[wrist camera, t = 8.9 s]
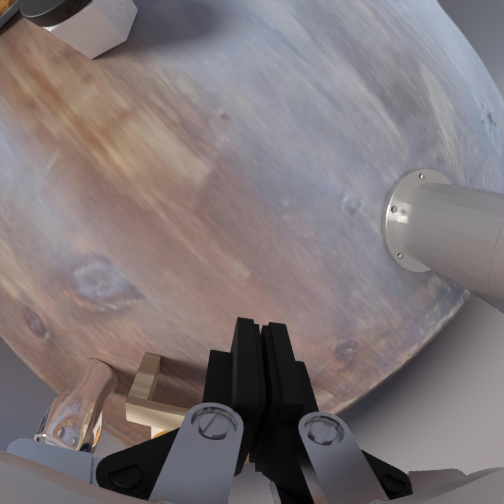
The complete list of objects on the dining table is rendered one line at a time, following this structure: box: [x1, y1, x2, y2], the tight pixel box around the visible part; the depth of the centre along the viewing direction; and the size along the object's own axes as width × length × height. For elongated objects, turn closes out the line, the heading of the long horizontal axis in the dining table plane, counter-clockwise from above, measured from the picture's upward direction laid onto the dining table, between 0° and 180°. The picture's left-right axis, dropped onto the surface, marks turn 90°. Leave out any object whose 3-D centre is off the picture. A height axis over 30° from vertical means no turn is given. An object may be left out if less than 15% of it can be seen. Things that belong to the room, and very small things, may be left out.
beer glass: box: [34, 359, 119, 455], centre depth 26 cm, size 7×7×15 cm
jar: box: [20, 0, 138, 59], centre depth 16 cm, size 9×8×12 cm
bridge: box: [126, 352, 189, 431], centre depth 30 cm, size 3×14×9 cm, turn 77°
